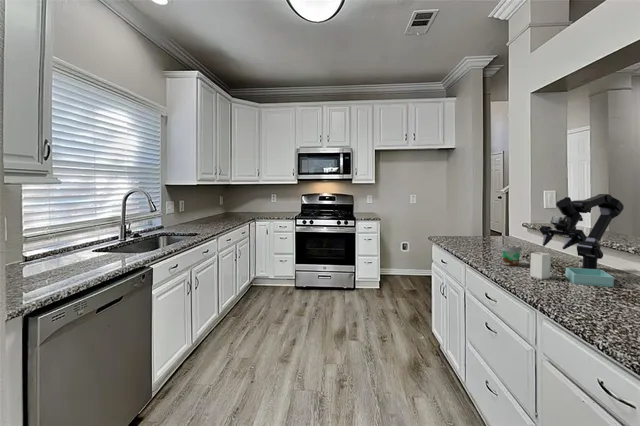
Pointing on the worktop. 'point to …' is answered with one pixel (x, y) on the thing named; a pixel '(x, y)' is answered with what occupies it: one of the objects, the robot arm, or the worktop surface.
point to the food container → (511, 255)
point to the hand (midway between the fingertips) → (552, 247)
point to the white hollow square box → (540, 265)
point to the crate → (589, 277)
